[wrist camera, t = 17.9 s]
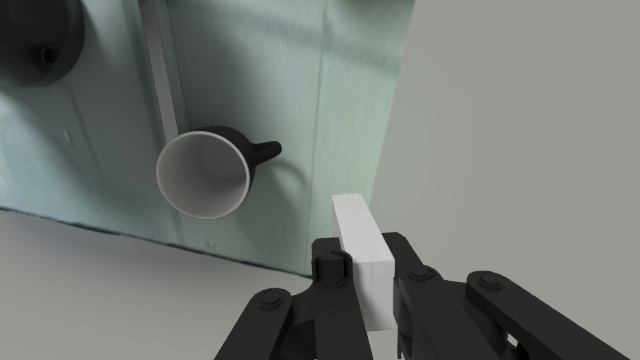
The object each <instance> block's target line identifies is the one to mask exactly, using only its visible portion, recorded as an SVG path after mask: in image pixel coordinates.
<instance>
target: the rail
mask: <svg viewBox="0 0 640 360" xmlns="http://www.w3.org/2000/svg"><path fill="white" fill-rule="evenodd" d="M138 3H139V8H140V13H141V18H142V23H143V28H144V33H145V38H146V43H147V48H148V53H149V58H150V63H151V68H152V73H153V78H154V83H155V88H156V93H157V98H158V103H159V108H160V113H161V118H162V123H163V128H164V133H165V138H166V143H168V142H169V141H170V140H172V139H173V138H175V137H176V136H178V135H180V134H182V133H184V132H187V131H189V125H188V120H187V114H186V108H185V103H184V97H183V91H182V86H181V80H180V74H179V69H178V63H177V57H176V52H175V46H174V40H173V35H172V29H171V23H170V18H169V12H168V6H167V1H166V0H138Z"/></svg>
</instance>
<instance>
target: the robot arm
mask: <svg viewBox="0 0 640 360" xmlns="http://www.w3.org/2000/svg"><path fill="white" fill-rule="evenodd" d="M83 39H84V21H83V15H82V10H81V7H80V4H79V1H78V0H0V85H1V86H8V87H36V86H42V85H46V84H49V83H52V82H54V81H56V80H58V79H60V78H61V77H63V76H64V75H65V74H66V73H67V72H68V71H69V70H70V69H71V68H72V67H73V66H74V64H75V63H76V61H77V59H78V57H79V55H80V52H81V49H82V45H83ZM332 216H333V236H334V237H333V238H320V239H316V240H315V241H314V242H313V244H312V261H311V263H312V277H313V283H312V285H311V286H310V287H309V288H308V289H307V290H305V291H304V292H302V293H299V294H297V295H294V296H291V295H290V293H289V292H288V291H286V290H285V289H280V288H269V289H266V290H262V291H260V292H259V293H257V294H255V295H254V296H253V297H252V298H251V299H250V301H249V303H248V304H247V306H246V308H245V309H244V311H243V312H242V314H241V316H240V317H239V319H238V321H237V323H236V324H235V326H234V327H233V329H232V331H231V332H230V334H229V336H228V337H227V339H226V341H225V342H224V344H223V345H222V347H221V349H220V350H219V352H218V354H217V355H216V357H215V359H214V360H314V359H317V360H373V356H372V352H371V348H370V344H369V340H368V336H367V331H379V330H391V329H394V318H395V320H396V323H397V325H398V343H397V344H398V345H397V355H398V359H401V352H403V355H404V358H405V360H630V359H628V358H627V357H626V356H624V355H622V354H621V353H619V352H618V351H616V350H615V349H613V348H612V347H610V346H609V345H607V344H606V343H604V342H603V341H601V340H600V339H598V338H597V337H595V336H594V335H592V334H591V333H589V332H588V331H586V330H585V329H583V328H582V327H580V326H579V325H577V324H576V323H574V322H573V321H571V320H570V319H568V318H567V317H565V316H564V315H562V314H561V313H559V312H558V311H556V310H555V309H553V308H552V307H550V306H549V305H547V304H546V303H544V302H543V301H541V300H540V299H538V298H537V297H535V296H533V295H532V294H531V293H529V292H527V291H526V290H525V289H523V288H522V287H520V286H519V285H517V284H516V283H514V282H512V281H511V280H509V279H508V278H506V277H504V276H502V275H500V274H497V273H494V272H491V271H475V272H472V273H470V274H469V275H468V277H467V282H466V283H462V282H454V281H448V280H444V279H443V278H442V277H441V275H440V274H439V273H438V272H437V271H436V270H435V269H433V268H431V267H429V266H426V265H423V264H422V262H421V260H420V259H419V257H418V256H417V254H416V253H415V251H414V250H413V249H412V247H411V245H409V242H408V241H407V239H406V238H405V237H404V236H402V235H401V234H399V233H398V232H390V233H381V232H380V230H379V229H378V227H377V225H376V223H375V221H374V219H373V217H372V215H371V213H370V211H369V209H368V207H367V205H366V204H365V202H364V200H363V198H362V196H361V194H360V193H355V194H340V195H332ZM508 334H510V335H511V336H513V337H514V338H515V339H516V340H517V341H518V344H517V347H516V346H514V345H512V344H511V343H510V342H509V341H508Z"/></svg>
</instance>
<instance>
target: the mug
mask: <svg viewBox="0 0 640 360" xmlns="http://www.w3.org/2000/svg"><path fill="white" fill-rule="evenodd" d="M281 151H282V147H281V144H280V143H279V142H278V141H270V142H265V143H260V144H253V143H251V142H250V141H249V140H248V139H247V138H246V137H245V136H244V135H243V134H241V133H240V132H238V131H236V130H234V129H231V128H228V127H222V126H210V127H202V128H198V129H193V130H190V131H187V132H184V133H182V134H180V135H178V136H176V137H175V138H173V139H172V140H170V141H169V142H168V143H167V144H166V145H165V147H164V148H163V149H162V151H161V153H160V154H159V157H158V160H157V164H156V179H157V183H158V186H159V189H160V191H161V193H162V195H163V196H164V198H165V199H166V200H167V201H168V202H169V204H170V205H172V206H173V207H174V208H175V209H176V210H178V211H179V212H181V213H183V214H185V215H187V216H190V217H193V218H197V219H206V220H207V219H217V218H221V217H224V216H226V215H228V214H230V213H232V212H233V211H234V210H236V209H237V208H238V207H239V206H240V205H241V204H242V202H243V201H244V200H245V198H246V196H247V195H248V192H249V190H250V188H251V185H252V182H253V179H254V174H255V168H256V166H257V165H258V164H260V163H263V162H265V161H267V160H270V159H272V158H274V157H276V156H277V155H279V154H280V153H281Z"/></svg>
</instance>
